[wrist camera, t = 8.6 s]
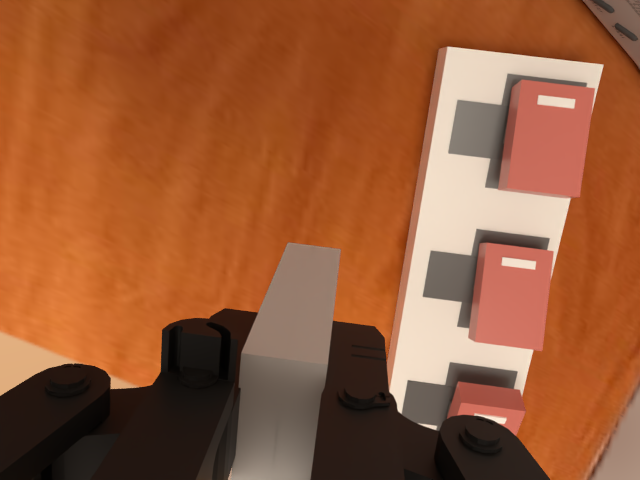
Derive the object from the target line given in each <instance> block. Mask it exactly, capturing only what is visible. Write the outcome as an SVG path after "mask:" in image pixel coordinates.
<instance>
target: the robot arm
mask: <svg viewBox="0 0 640 480" xmlns="http://www.w3.org/2000/svg"><path fill="white" fill-rule="evenodd" d="M340 252H341V249H335V248H328V247H320V246H312V245H304V244H296V243H289V242H288V244H287V246H286V248H285V251H284V253H283V255H282V258H281V260H280V263H279V265H278V267H277V270H276V272H275V274H274V277H273V279H272V281H271V284H270V286H269V289H268V291H267V293H266V296H265V298H264V300H263V303H262V305H261V307H260V310H259V312H258V313H256V312H249V311H241V310H234V309H226V308H225V309H223V310H221V311H219V312H218V313H216V314H214V315H212V316H211V317H210V318H209V319H205V318H192V319H184V320H180V321H177V322H174V323H171V324H169V325H168V326H166V327H165V328H164V329H163V330H162V352H161V373H160V374H159V376H158V377H157V379H156V380H155V382H154V383H153V385H151V386H147V387H139V388H127V389H110V384H111V383H110V381H111V378H110V377H109V375H108V374H107V373H106V371H104V370H102V369H100V368H98V367H95V366H90V365H84V364H64V365H61V366H57V367H52V368H48V369H46V370H44V371H42V372H40V373H37V374H35V375H34V376H32V377H30V378H29V379H27V380H25V381H24V382H22V383H21V384H19V385H17V386H16V387H14V388H12V389H11V390H9V391H7V392H6V393H4V394H3V395H1V396H0V480H228V477H229V474H230V471H231V468H232V475H231V480H550V479H549V477H548V476H547V475H546V473H545V472H544V471H543V470H542V468H541V467H540V466H539V464H538V463H537V462H536V461H535V459H534V458H533V457H532V455H531V454H530V453H529V452H528V450H527V449H526V448H525V446H524V445H523V444H522V443H521V441H520V440H519V439H518V438H517V437H516V436H515V435H514V434H513V433H512V432H511V431H510V430H509V429H507V428H506V427H504V426H502V425H500V424H499V423H497V422H495V421H493V420H491V419H488V418H487V419H486V418H485V417H481V416H473V415H457V416H451V417H450V418H448V419H446V420H445V421H443V422H442V425H441V427H440V430H439V431H437V430H434V429H431V428H428V427H425V426H423V425H420V424H418V423H415V422H413V421H411V420H410V419H408V418H406V417H405V416H403V415H402V414H401V413H400V412H398V409H397V403H396V400H395V398H394V396H393V395H392V394H391V393H390V392H389V385H388V373H387V362H386V351H385V339H384V337H383V335H382V334H381V333H380V332H379V331H378V330H377V329H376V327H375V326H367V325H360V324H352V323H345V322H337V321H333V314H334V305H335V296H336V287H337V278H338V270H339V261H340Z"/></svg>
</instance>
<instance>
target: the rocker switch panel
mask: <svg viewBox="0 0 640 480" xmlns="http://www.w3.org/2000/svg"><path fill="white" fill-rule="evenodd" d="M602 69H603V65H602V64H594V63H585V62H577V61H568V60H559V59H551V58H542V57H533V56H525V55H516V54H508V53H499V52H490V51H482V50H473V49H464V48H456V47H444V48H440V49H439V51H438V57H437V63H436V69H435V75H434V81H433V87H432V93H431V99H430V105H429V111H428V118H427V124H426V130H425V136H424V142H423V148H422V154H421V160H420V166H419V172H418V178H417V184H416V190H415V196H414V203H413V209H412V215H411V221H410V227H409V233H408V239H407V245H406V251H405V257H404V263H403V269H402V275H401V281H400V288H399V294H398V300H397V306H396V312H395V318H394V324H393V330H392V336H391V342H390V348H389V354H388V360H387V373H388V385H389V392H390V393H391V394H392V395H393V396H394V398H395V400H396V403H397V409H398V412H400V413H401V414H402V415H403V416H405V417H406V418H408V419H410V420H411V421H413V422H415V423H418V424H420V425H423V426H425V427H428V428H431V429H434V430H437V431H439V430H440V427H441V425H442V422H443V421H445V420H446V419H447V416H448V413H449V410H450V407H451V403H452V400H453V397H454V393H455V390H456V387H457V384H458V381H459V382H466V383H473V384H481V385H488V386H495V387H503V388H510V389H518V390H520V392H521V395H522V394H523V390H524V386H525V382H526V378H527V374H528V370H529V365H530V361H531V357H532V353H533V350H531V349H523V348H516V347H508V346H501V345H493V344H486V343H478V342H474V341H472V340H471V339H469V338H468V334H469V326H470V318H471V310H472V301H473V293H474V285H475V276H476V268H477V260H478V252H479V243H494V244H502V245H510V246H518V247H526V248H534V249H541V250H549V251H554V254H553V262H552V271H551V276H552V272H553V268H554V264H555V260H556V256H557V252H558V248H559V244H560V240H561V236H562V232H563V228H564V224H565V220H566V215H567V211H568V207H569V203H570V199H571V198H568V199H566V198H558V197H550V196H542V195H534V194H526V193H518V192H510V191H501V190H498V186H499V178H500V171H501V164H502V157H503V149H504V142H505V135H506V127H507V120H508V113H509V106H510V98H511V91H512V87H513V86H514V85H516V84H517V83H518V82H519V81H521V80H530V81H538V82H547V83H555V84H564V85H572V86H581V87H589V88H595V92H594V99H593V106H594V102H595V98H596V94H597V90H598V86H599V82H600V78H601V74H602ZM593 106H592V110H593ZM591 114H592V113H591Z"/></svg>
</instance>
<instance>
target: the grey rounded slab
mask: <svg viewBox="0 0 640 480" xmlns="http://www.w3.org/2000/svg"><path fill="white" fill-rule="evenodd" d="M583 1H584V3H585V4H586V5H587V6H588V7H589V9H590V10H591V11H592V12H593V13H594V14H595V16H596V17H597V18H598V19H599V20H600V21H601V23H602V24H603V25H604V26H605V27H606V29H607V30H608V31H609V32H610V33H611V34H612V36H613V37H614V38H615V39H616V40H617V42H618V43H619V44H620V45H621V46H622V48H623V49H624V50H625V51H626V52H627V54H628V55H629V56H630V57H631V58H632V59H633V61H634V62H635V63H636V64H637V66H638V67H639V69H640V0H583Z"/></svg>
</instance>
